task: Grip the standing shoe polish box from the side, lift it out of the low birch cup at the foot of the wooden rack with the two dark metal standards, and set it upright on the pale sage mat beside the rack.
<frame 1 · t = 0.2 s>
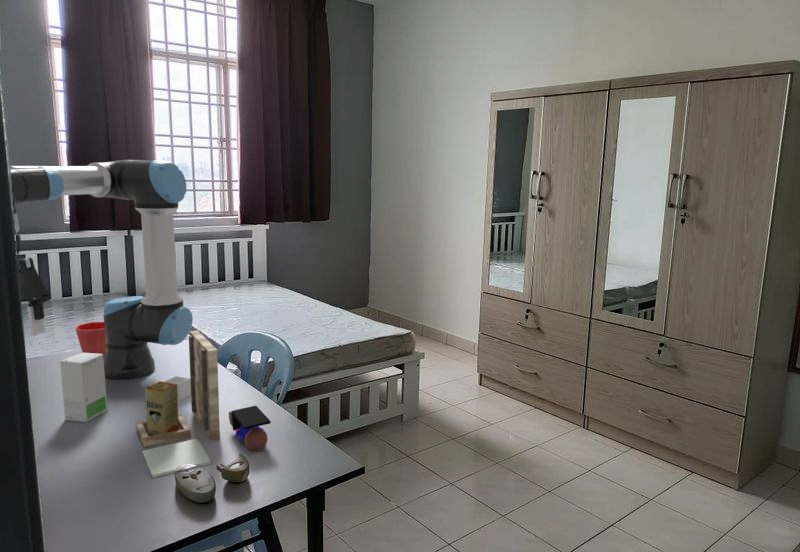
hand: (13, 331, 126), 27 cm above the table, tool pointing down, fingers open, 13 cm apart
wooden rack: (163, 433, 140), on the table
sage mat: (176, 458, 128), on the table
skincare box: (86, 415, 149), on the table
flower pot: (96, 353, 196), on the table
figurine character: (249, 440, 138), on the table
white cube: (177, 397, 162), on the table
shoe polish box: (163, 434, 140), resting in wooden rack
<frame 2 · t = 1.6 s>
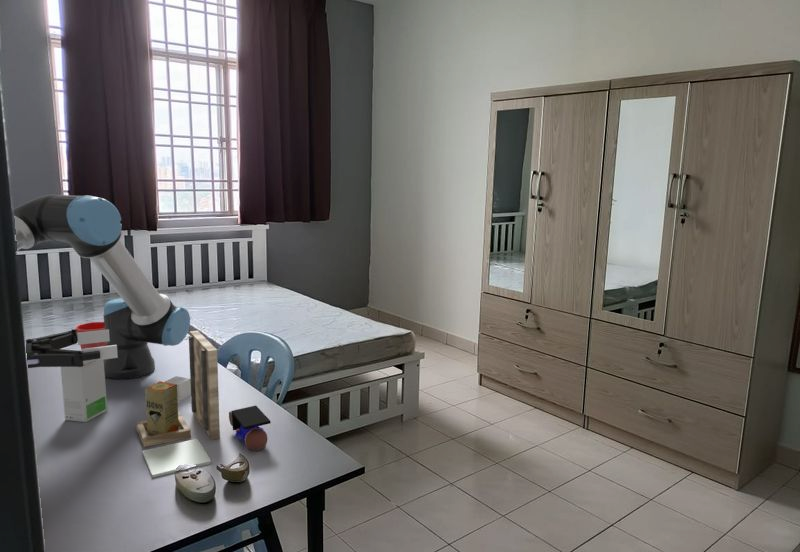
hand: (113, 342, 130), 24 cm above the table, tool horizontal, fingers open, 13 cm apart
nothing on the table moved.
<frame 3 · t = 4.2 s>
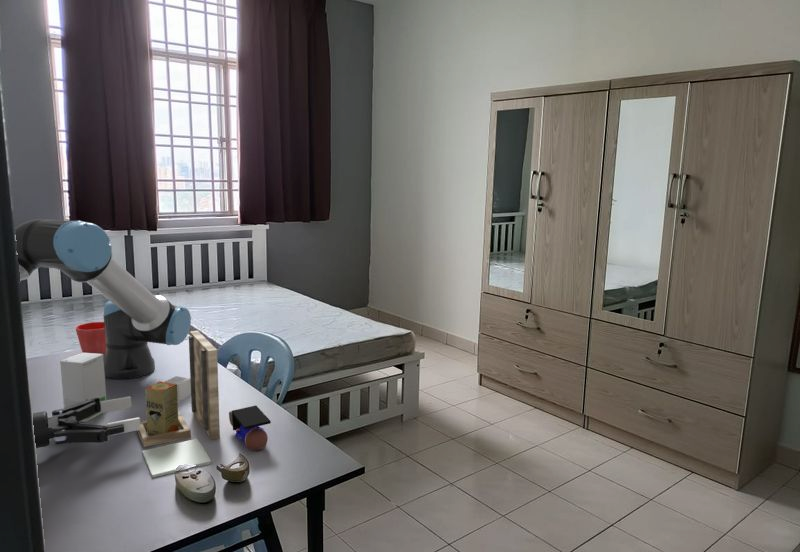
hand: (135, 412, 135), 7 cm above the table, tool horizontal, fingers open, 13 cm apart
nothing on the table moved.
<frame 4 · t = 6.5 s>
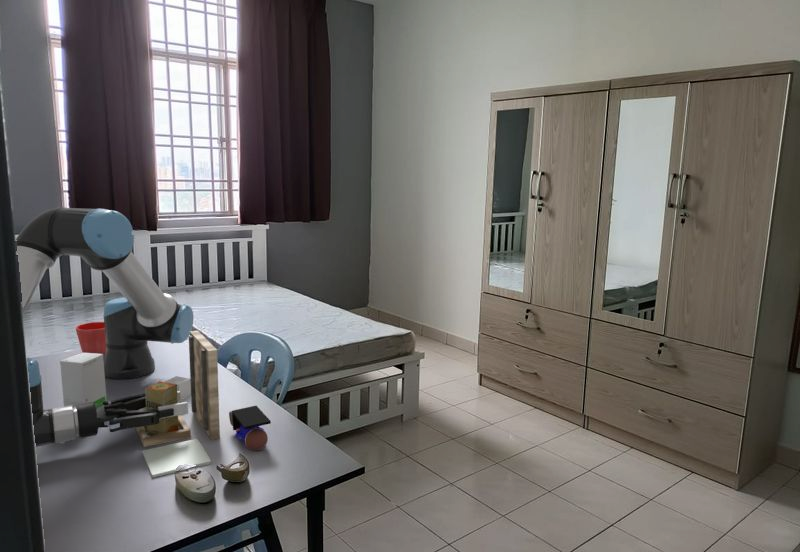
hand: (183, 401, 141), 7 cm above the table, tool horizontal, fingers closed on shoe polish box, 7 cm apart
shoe polish box: (163, 434, 140), resting in wooden rack, touching gripper
everything else where it was.
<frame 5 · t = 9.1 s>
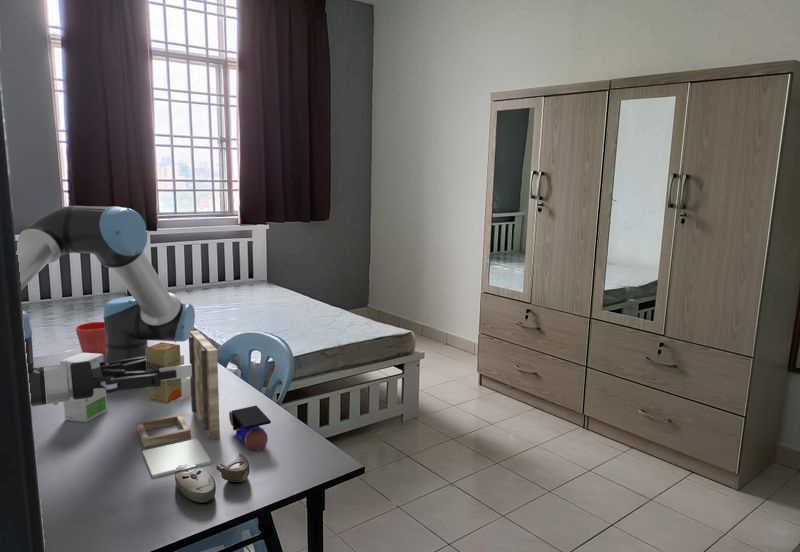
hand: (187, 364, 130), 20 cm above the table, tool horizontal, fingers closed on shoe polish box, 7 cm apart
shoe polish box: (165, 399, 129), point 13 cm above the table, touching gripper
everything else where it was.
when the fingers open (9 cm above the table, at t = 11.8 s): shoe polish box drops 1 cm, resting on sage mat.
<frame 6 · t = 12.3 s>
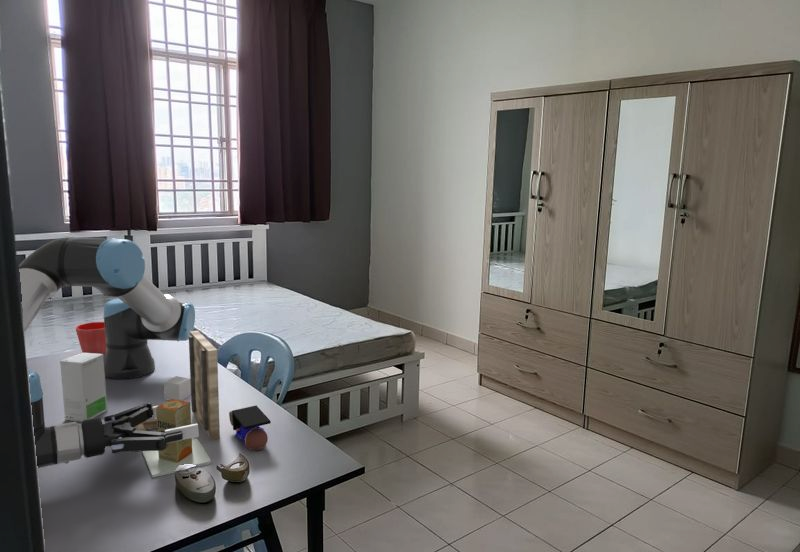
hand: (190, 417, 128), 9 cm above the table, tool horizontal, fingers open, 13 cm apart
shoe polish box: (175, 456, 128), resting on sage mat
everything else where it was.
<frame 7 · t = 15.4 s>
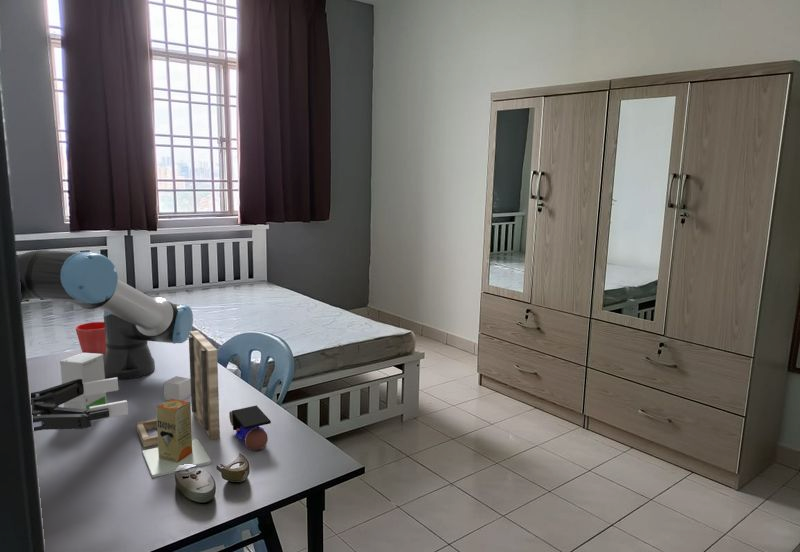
hand: (122, 394, 120), 17 cm above the table, tool horizontal, fingers open, 13 cm apart
nothing on the table moved.
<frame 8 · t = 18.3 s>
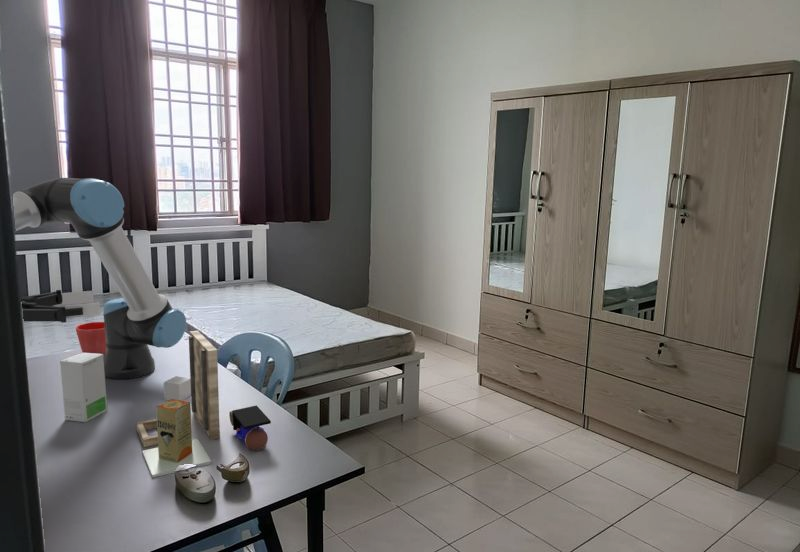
hand: (96, 302, 134), 32 cm above the table, tool horizontal, fingers open, 13 cm apart
nothing on the table moved.
at the end: shoe polish box inside the target area on the sage mat (0.1 cm from its centre), point 0.4 cm above the sage mat's base; shoe polish box tilted 0°; the gripper is holding nothing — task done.
